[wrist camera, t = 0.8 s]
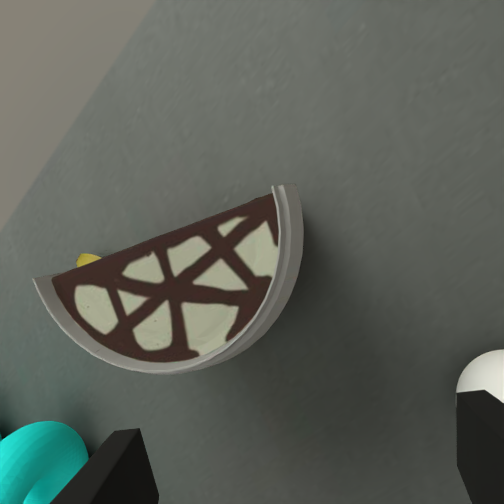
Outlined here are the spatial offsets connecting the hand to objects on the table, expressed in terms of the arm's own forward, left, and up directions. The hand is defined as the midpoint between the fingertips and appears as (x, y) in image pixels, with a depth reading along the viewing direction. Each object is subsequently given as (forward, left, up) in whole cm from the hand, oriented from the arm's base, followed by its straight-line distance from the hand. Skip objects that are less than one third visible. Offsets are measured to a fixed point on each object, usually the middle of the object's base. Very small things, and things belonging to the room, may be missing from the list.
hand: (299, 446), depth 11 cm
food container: (+6, +2, -17) cm, 18 cm away
